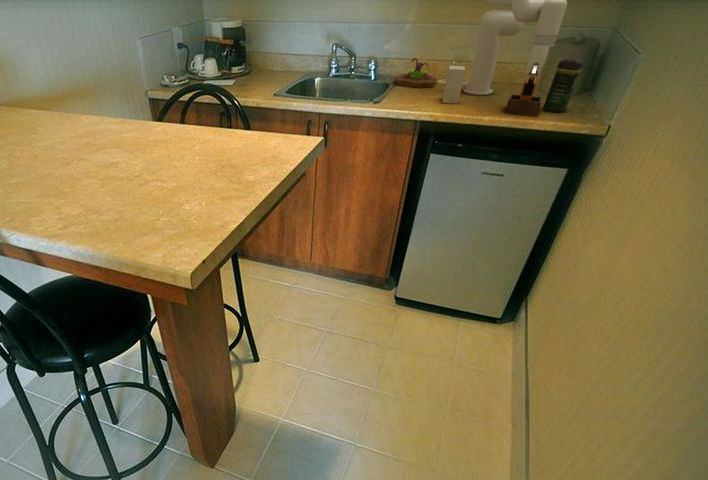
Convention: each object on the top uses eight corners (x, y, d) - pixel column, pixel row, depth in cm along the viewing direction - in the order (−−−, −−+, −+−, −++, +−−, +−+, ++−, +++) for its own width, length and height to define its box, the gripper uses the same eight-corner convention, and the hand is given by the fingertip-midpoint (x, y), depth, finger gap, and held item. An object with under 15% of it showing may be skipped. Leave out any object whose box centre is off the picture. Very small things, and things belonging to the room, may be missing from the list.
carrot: (525, 110, 162) (539, 68, 153) (530, 113, 159) (544, 71, 149) (512, 109, 163) (525, 68, 154) (517, 113, 159) (530, 70, 150)
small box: (458, 103, 171) (465, 69, 163) (442, 103, 172) (449, 68, 164) (457, 99, 177) (464, 66, 169) (442, 98, 178) (448, 65, 171)
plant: (398, 77, 213) (402, 53, 206) (437, 80, 207) (441, 56, 200) (390, 85, 199) (393, 60, 192) (431, 89, 193) (436, 62, 186)
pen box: (504, 112, 160) (508, 99, 157) (507, 107, 166) (511, 94, 163) (536, 116, 155) (541, 102, 152) (537, 110, 162) (542, 97, 159)
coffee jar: (561, 113, 158) (581, 60, 147) (540, 110, 162) (557, 58, 151) (568, 109, 163) (588, 57, 152) (547, 105, 168) (565, 54, 157)
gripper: (533, 37, 153) (518, 87, 164) (530, 42, 141) (514, 96, 152) (555, 38, 151) (539, 89, 161) (554, 44, 138) (537, 98, 149)
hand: (527, 92), depth 156 cm, fingers open, 8 cm apart
